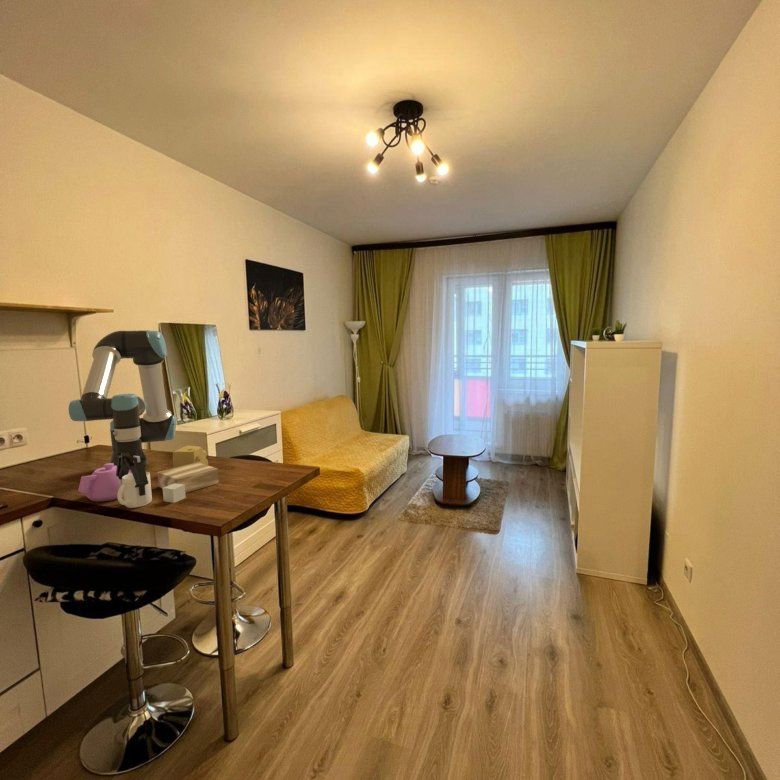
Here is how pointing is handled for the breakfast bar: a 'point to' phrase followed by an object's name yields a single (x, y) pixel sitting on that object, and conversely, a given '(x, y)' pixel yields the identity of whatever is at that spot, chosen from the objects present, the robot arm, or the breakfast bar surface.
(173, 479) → the oak block
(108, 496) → the teapot
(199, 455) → the cheese
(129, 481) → the mug
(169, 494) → the beige block
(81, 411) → the robot arm
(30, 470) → the breakfast bar surface
